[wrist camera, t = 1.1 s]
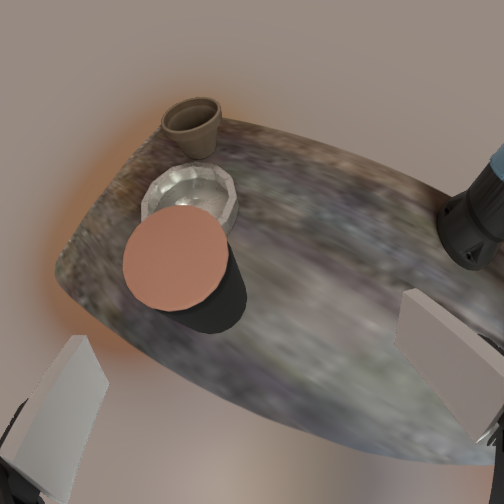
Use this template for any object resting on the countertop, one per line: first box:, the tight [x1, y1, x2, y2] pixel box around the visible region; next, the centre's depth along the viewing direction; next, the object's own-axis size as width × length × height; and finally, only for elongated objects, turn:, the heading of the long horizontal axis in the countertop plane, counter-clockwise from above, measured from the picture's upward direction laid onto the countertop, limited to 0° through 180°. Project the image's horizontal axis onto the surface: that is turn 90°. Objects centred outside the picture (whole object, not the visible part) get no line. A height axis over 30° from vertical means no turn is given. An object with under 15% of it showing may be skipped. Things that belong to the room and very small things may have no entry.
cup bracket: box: [141, 161, 239, 236], centre depth 46 cm, size 16×16×4 cm
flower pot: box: [161, 97, 222, 160], centre depth 49 cm, size 12×11×10 cm
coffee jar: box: [123, 205, 247, 334], centre depth 33 cm, size 11×11×18 cm
